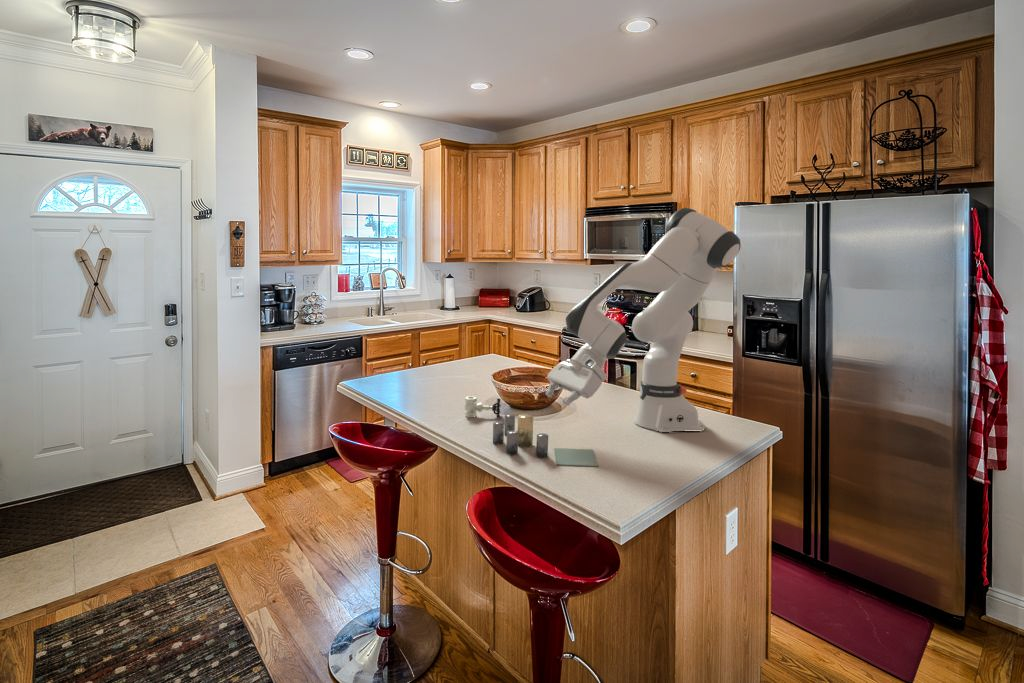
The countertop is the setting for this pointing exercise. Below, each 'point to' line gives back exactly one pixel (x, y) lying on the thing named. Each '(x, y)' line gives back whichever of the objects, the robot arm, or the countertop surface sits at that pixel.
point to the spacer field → (516, 437)
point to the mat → (575, 457)
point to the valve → (479, 407)
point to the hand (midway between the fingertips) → (556, 399)
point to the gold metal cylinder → (525, 430)
